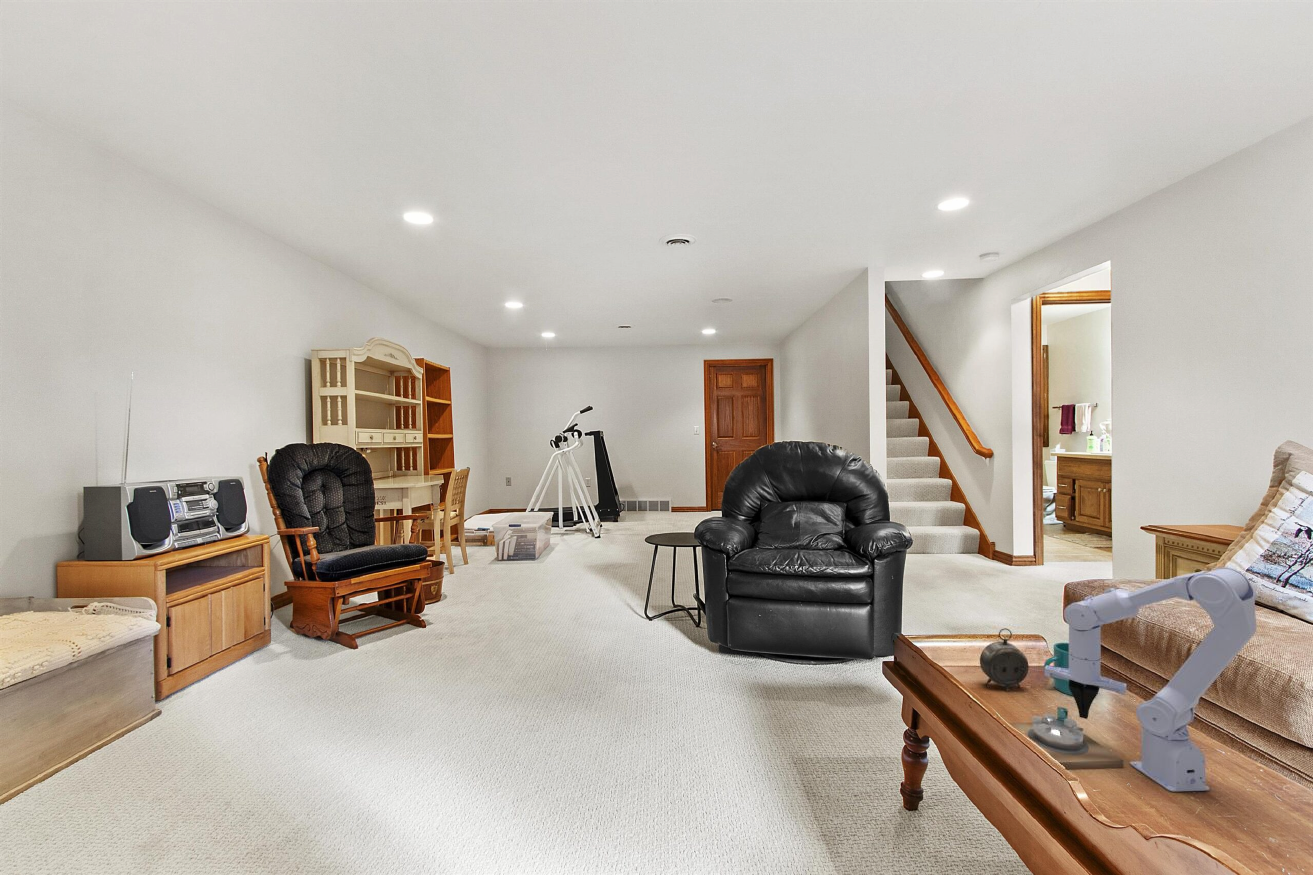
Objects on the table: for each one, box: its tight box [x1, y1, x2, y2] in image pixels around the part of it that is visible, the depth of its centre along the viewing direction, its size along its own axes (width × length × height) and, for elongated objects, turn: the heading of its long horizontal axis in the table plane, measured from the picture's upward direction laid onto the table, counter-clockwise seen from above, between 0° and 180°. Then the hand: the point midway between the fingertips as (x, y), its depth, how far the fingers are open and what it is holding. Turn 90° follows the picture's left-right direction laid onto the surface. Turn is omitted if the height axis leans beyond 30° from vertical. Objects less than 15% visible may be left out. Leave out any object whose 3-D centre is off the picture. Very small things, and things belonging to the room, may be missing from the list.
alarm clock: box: [979, 627, 1030, 693], centre depth 157 cm, size 11×5×16 cm, turn 84°
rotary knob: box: [1032, 706, 1084, 750], centre depth 129 cm, size 12×9×4 cm
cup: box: [1043, 642, 1073, 696], centre depth 156 cm, size 9×12×11 cm
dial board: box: [1009, 722, 1124, 770], centre depth 128 cm, size 16×16×2 cm
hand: (1083, 716), depth 130 cm, fingers closed
